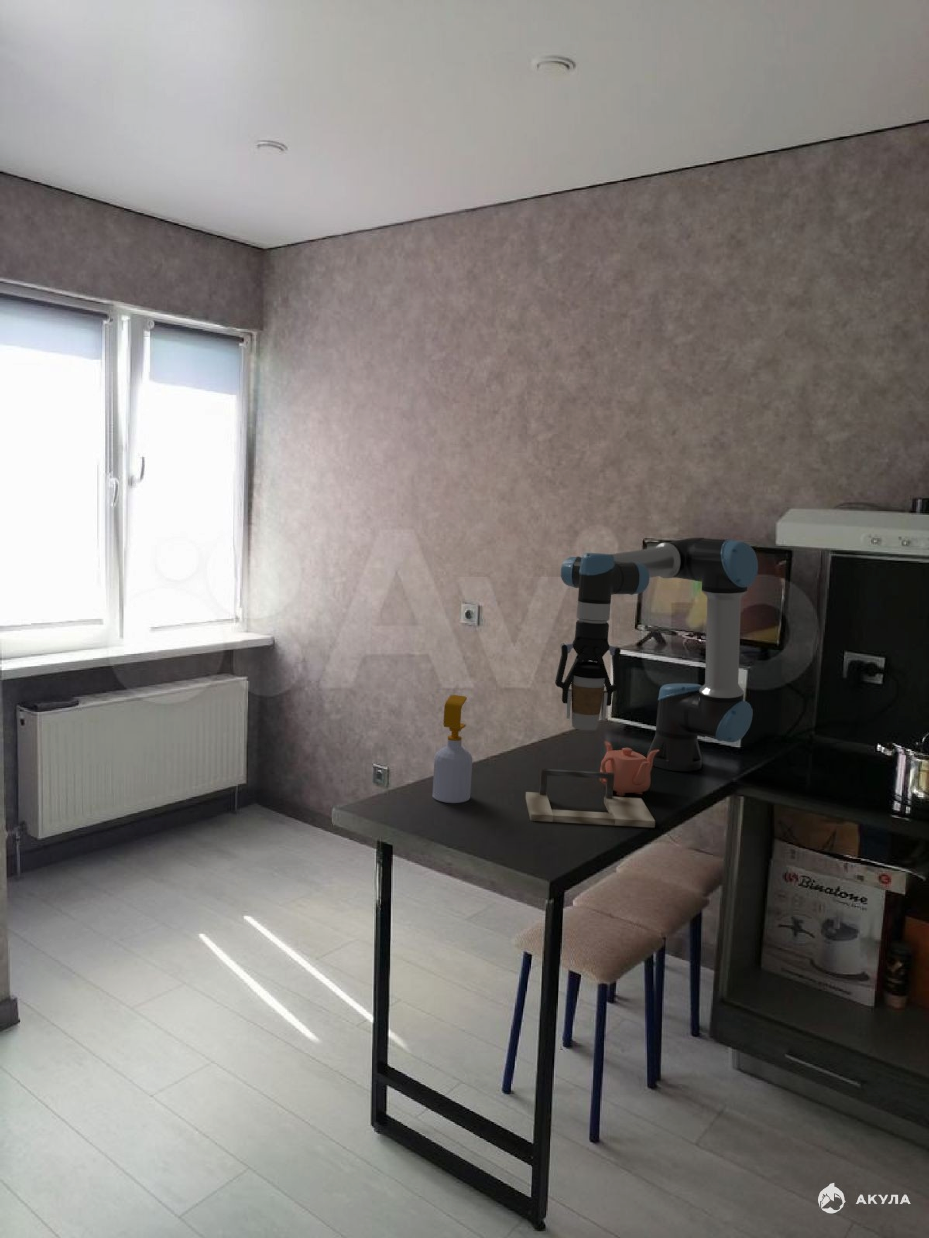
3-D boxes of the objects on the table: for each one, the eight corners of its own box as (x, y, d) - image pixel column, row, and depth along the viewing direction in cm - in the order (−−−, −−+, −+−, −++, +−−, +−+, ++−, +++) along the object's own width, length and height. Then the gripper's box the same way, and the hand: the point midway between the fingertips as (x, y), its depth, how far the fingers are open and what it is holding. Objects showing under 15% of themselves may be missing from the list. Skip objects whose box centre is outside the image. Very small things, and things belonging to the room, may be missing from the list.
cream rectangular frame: (640, 804, 221) (643, 774, 220) (654, 827, 205) (657, 795, 204) (525, 797, 220) (527, 767, 219) (530, 820, 205) (532, 788, 204)
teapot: (601, 778, 240) (605, 738, 239) (656, 787, 235) (659, 746, 234) (589, 793, 227) (592, 750, 226) (646, 803, 222) (650, 759, 221)
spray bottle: (474, 795, 220) (481, 695, 217) (462, 806, 212) (468, 702, 208) (440, 789, 223) (445, 691, 220) (426, 800, 214) (432, 697, 211)
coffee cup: (601, 724, 216) (607, 662, 214) (603, 733, 207) (609, 668, 205) (566, 721, 216) (571, 659, 214) (566, 730, 208) (571, 665, 206)
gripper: (634, 621, 212) (626, 716, 215) (546, 616, 212) (539, 711, 215) (640, 625, 205) (632, 724, 208) (549, 620, 205) (542, 719, 208)
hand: (585, 718), depth 211 cm, fingers closed on coffee cup, 8 cm apart
